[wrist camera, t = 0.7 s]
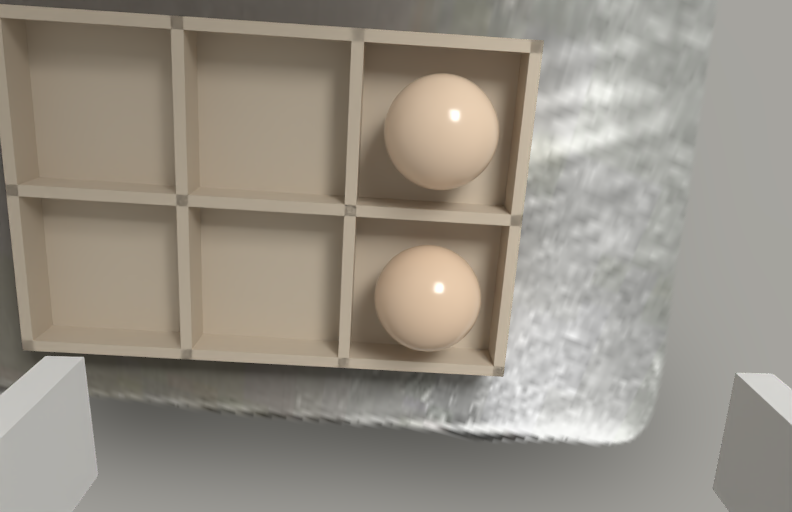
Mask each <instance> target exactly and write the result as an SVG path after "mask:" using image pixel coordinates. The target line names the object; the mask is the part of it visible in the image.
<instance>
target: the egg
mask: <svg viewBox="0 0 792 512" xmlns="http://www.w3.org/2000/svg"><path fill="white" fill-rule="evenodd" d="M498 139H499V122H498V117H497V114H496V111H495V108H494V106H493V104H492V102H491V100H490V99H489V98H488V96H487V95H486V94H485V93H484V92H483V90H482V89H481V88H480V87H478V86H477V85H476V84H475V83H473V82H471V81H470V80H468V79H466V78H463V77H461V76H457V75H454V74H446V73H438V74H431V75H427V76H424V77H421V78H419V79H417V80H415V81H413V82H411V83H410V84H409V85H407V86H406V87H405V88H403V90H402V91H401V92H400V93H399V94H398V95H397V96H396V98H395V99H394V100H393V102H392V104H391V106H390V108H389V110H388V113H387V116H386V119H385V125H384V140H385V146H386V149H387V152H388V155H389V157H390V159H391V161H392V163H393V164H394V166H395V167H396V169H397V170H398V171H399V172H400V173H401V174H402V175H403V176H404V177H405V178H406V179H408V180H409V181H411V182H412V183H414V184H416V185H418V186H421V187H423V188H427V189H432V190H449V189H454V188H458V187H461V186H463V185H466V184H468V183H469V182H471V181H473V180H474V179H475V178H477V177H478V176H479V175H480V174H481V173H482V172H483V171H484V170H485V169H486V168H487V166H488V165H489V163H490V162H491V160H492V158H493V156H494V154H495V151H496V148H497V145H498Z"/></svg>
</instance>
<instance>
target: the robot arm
mask: <svg viewBox="0 0 792 512" xmlns="http://www.w3.org/2000/svg"><path fill="white" fill-rule="evenodd" d="M97 476H98V470H97V461H96V453H95V444H94V436H93V428H92V420H91V411H90V402H89V394H88V385H87V377H86V369H85V360H84V357H68V356H45V357H44V358H43V359H41V360H40V361H39V362H38V363H37V364H36V365H35V366H33V367H32V368H31V369H30V370H29V371H28V372H26V373H25V374H24V375H23V376H22V377H21V378H20V379H18V380H17V381H16V382H15V383H14V384H13V385H11V386H10V387H9V388H8V389H7V390H6V391H5V392H3V393H2V394H1V395H0V512H73V511H74V509H75V508H76V506H77V505H78V503H79V502H80V501H81V499H82V498H83V496H84V495H85V493H86V492H87V490H88V489H89V488H90V486H91V485H92V483H93V482H94V481H95V479H96V478H97ZM713 490H714V491H715V493H716V494H717V496H718V497H719V498H720V500H721V501H722V502H723V504H724V505H725V506H726V508H727V509H728V510H729V512H792V389H791V388H790V387H788V386H787V385H786V384H785V383H784V382H782V381H781V380H780V379H779V378H778V377H776V376H775V375H774V374H762V373H735V378H734V383H733V389H732V394H731V399H730V404H729V409H728V414H727V419H726V424H725V429H724V434H723V439H722V444H721V449H720V454H719V459H718V464H717V469H716V475H715V480H714V484H713Z"/></svg>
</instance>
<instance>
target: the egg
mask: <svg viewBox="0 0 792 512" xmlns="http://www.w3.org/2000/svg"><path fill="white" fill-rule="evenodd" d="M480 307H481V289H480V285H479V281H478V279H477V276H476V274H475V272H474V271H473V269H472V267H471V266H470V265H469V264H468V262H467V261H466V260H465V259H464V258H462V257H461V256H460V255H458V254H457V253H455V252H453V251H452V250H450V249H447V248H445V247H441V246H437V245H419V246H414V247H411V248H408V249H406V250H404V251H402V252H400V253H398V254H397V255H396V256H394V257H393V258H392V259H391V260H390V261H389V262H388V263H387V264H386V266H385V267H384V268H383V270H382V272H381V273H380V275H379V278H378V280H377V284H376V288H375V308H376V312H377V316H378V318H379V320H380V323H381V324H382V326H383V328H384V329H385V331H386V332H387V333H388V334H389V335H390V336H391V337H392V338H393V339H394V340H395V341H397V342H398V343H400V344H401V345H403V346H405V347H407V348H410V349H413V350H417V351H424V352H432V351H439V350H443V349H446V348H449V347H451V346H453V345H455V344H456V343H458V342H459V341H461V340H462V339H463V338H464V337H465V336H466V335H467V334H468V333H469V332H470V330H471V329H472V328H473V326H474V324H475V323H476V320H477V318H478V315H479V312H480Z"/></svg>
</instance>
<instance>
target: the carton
mask: <svg viewBox="0 0 792 512" xmlns="http://www.w3.org/2000/svg"><path fill="white" fill-rule="evenodd" d="M543 44H544V41H542V40H527V39H512V38H497V37H482V36H468V35H453V34H438V33H423V32H408V31H393V30H378V29H364V28H349V27H334V26H319V25H304V24H289V23H274V22H259V21H245V20H230V19H215V18H200V17H185V16H170V15H155V14H141V13H126V12H111V11H96V10H81V9H66V8H51V7H37V6H22V5H7V4H0V139H1V149H2V158H3V167H4V177H5V186H6V196H7V205H8V215H9V224H10V233H11V243H12V252H13V262H14V271H15V281H16V290H17V299H18V309H19V318H20V328H21V337H22V346H23V350H27V351H45V352H63V353H82V354H100V355H118V356H136V357H155V358H173V359H191V360H209V361H228V362H246V363H264V364H282V365H301V366H319V367H337V368H355V369H374V370H392V371H410V372H428V373H447V374H465V375H483V376H501V377H503V374H504V366H505V358H506V349H507V341H508V333H509V325H510V316H511V308H512V300H513V292H514V283H515V275H516V267H517V259H518V250H519V242H520V234H521V225H522V217H523V209H524V201H525V192H526V184H527V176H528V168H529V159H530V151H531V143H532V135H533V126H534V118H535V110H536V102H537V93H538V85H539V77H540V68H541V60H542V52H543ZM438 73H446V74H454V75H457V76H461V77H463V78H466V79H468V80H470V81H471V82H473V83H475V84H476V85H477V86H478V87H480V88H481V89H482V90H483V92H484V93H485V94H486V95H487V96H488V98H489V99H490V100H491V102H492V104H493V106H494V108H495V111H496V114H497V117H498V122H499V139H498V145H497V148H496V151H495V154H494V156H493V158H492V160H491V162H490V163H489V165H488V166H487V168H486V169H485V170H484V171H483V172H482V173H481V174H480V175H479V176H478V177H477V178H475V179H474V180H473V181H471V182H469V183H468V184H466V185H463V186H461V187H458V188H454V189H449V190H432V189H427V188H423V187H421V186H418V185H416V184H414V183H412V182H411V181H409V180H408V179H406V178H405V177H404V176H403V175H402V174H401V173H400V172H399V171H398V170H397V169H396V167H395V166H394V164H393V163H392V161H391V159H390V157H389V155H388V152H387V149H386V146H385V140H384V125H385V119H386V116H387V113H388V110H389V108H390V106H391V104H392V102H393V100H394V99H395V98H396V96H397V95H398V94H399V93H400V92H401V91H402V90H403V88H405V87H406V86H407V85H409V84H410V83H411V82H413V81H415V80H417V79H419V78H421V77H424V76H427V75H431V74H438ZM419 245H437V246H441V247H445V248H447V249H450V250H452V251H453V252H455V253H457V254H458V255H460V256H461V257H462V258H464V259H465V260H466V261H467V262H468V264H469V265H470V266H471V267H472V269H473V271H474V272H475V274H476V276H477V279H478V281H479V285H480V289H481V307H480V312H479V315H478V318H477V320H476V323H475V324H474V326H473V328H472V329H471V330H470V332H469V333H468V334H467V335H466V336H465V337H464V338H463V339H462V340H461V341H459V342H458V343H456V344H455V345H453V346H451V347H449V348H446V349H443V350H439V351H432V352H424V351H417V350H413V349H410V348H407V347H405V346H403V345H401V344H400V343H398V342H397V341H395V340H394V339H393V338H392V337H391V336H390V335H389V334H388V333H387V332H386V331H385V329H384V328H383V326H382V324H381V323H380V320H379V318H378V316H377V312H376V308H375V288H376V284H377V280H378V278H379V275H380V273H381V272H382V270H383V268H384V267H385V266H386V264H387V263H388V262H389V261H390V260H391V259H392V258H393V257H394V256H396V255H397V254H398V253H400V252H402V251H404V250H406V249H408V248H411V247H414V246H419Z"/></svg>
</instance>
